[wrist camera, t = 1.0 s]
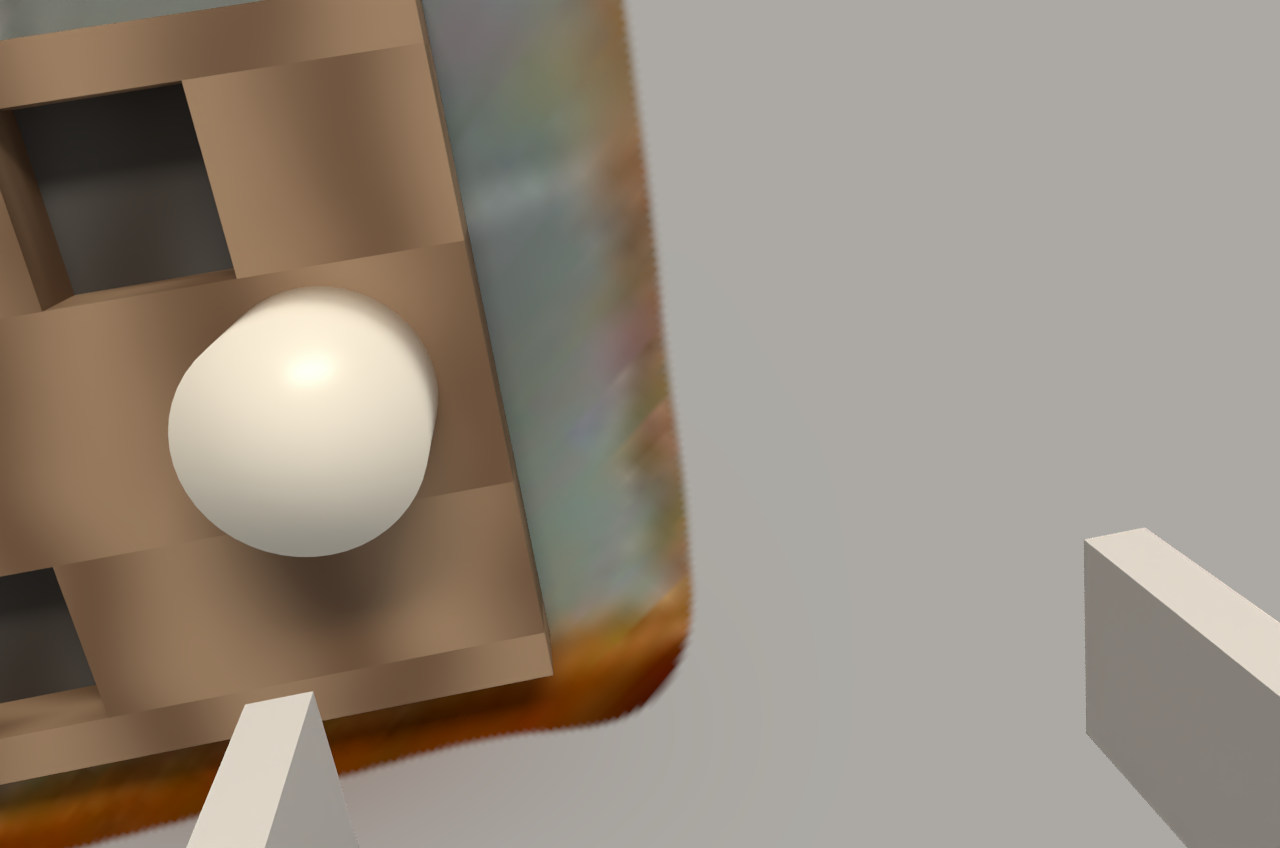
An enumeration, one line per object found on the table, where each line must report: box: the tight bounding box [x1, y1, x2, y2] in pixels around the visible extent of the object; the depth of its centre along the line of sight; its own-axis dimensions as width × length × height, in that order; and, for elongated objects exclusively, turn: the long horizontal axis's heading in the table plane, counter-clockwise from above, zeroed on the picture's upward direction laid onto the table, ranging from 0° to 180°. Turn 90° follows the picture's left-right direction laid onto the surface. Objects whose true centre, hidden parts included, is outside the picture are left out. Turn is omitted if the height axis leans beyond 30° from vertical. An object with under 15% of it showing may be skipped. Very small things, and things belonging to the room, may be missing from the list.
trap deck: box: [0, 0, 553, 785], centre depth 28 cm, size 24×20×6 cm
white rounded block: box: [168, 286, 438, 557], centre depth 27 cm, size 6×6×4 cm
